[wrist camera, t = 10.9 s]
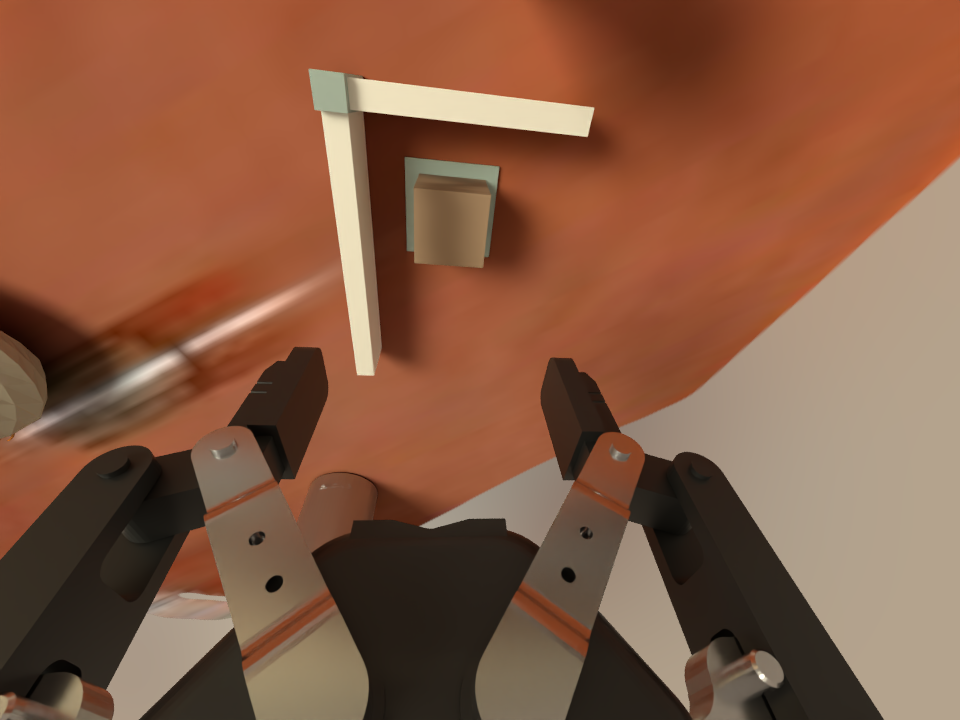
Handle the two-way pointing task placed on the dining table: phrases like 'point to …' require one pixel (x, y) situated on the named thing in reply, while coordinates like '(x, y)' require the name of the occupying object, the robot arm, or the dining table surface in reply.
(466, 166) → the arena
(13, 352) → the nautilus
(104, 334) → the dining table surface
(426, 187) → the block
